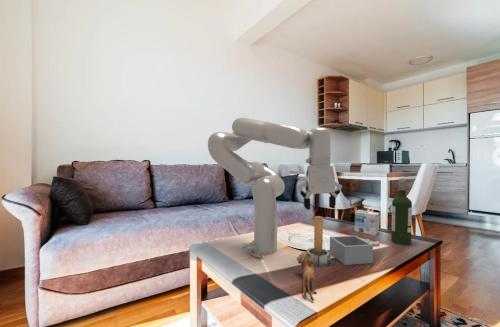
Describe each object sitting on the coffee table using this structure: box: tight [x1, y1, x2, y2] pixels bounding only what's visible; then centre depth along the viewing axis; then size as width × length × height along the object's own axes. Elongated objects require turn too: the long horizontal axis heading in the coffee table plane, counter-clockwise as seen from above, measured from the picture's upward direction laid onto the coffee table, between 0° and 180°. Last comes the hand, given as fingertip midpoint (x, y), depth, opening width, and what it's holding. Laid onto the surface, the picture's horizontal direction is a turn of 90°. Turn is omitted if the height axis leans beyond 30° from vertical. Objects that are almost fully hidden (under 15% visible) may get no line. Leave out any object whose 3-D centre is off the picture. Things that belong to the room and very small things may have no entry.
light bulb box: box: [354, 209, 380, 236], centre depth 131 cm, size 11×7×11 cm, turn 50°
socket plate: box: [298, 247, 340, 268], centre depth 91 cm, size 11×11×4 cm
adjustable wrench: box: [363, 238, 380, 248], centre depth 108 cm, size 25×6×2 cm, turn 121°
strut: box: [311, 215, 325, 255], centre depth 91 cm, size 5×5×16 cm
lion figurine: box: [296, 251, 317, 302], centre depth 74 cm, size 15×5×9 cm, turn 178°
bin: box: [329, 235, 374, 266], centre depth 93 cm, size 11×11×8 cm
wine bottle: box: [390, 177, 413, 246], centre depth 115 cm, size 8×8×30 cm
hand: (319, 208), depth 91 cm, fingers open, 9 cm apart
